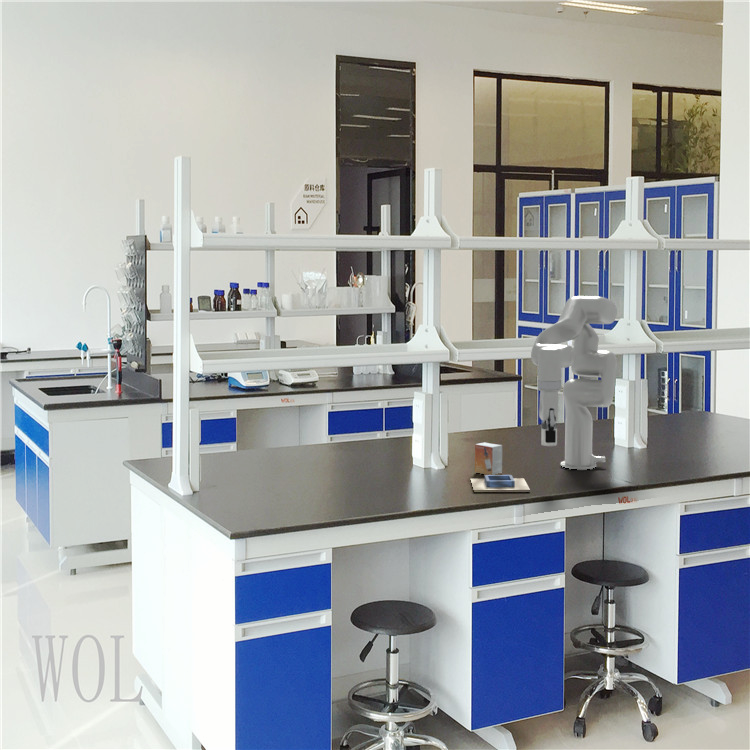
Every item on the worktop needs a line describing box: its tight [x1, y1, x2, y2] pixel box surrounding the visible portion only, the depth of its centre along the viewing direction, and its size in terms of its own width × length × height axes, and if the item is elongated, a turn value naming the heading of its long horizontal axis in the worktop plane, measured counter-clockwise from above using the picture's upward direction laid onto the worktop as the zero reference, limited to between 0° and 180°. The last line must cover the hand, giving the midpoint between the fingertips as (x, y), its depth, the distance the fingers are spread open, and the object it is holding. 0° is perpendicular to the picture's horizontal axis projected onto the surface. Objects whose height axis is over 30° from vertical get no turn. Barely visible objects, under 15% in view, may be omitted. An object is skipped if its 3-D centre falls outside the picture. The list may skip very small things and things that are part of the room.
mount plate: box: [469, 474, 531, 491], centre depth 324 cm, size 18×16×3 cm
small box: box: [474, 441, 503, 475], centre depth 342 cm, size 8×6×10 cm
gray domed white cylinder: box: [540, 422, 558, 447], centre depth 322 cm, size 5×5×7 cm
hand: (549, 440), depth 322 cm, fingers closed on gray domed white cylinder, 5 cm apart
